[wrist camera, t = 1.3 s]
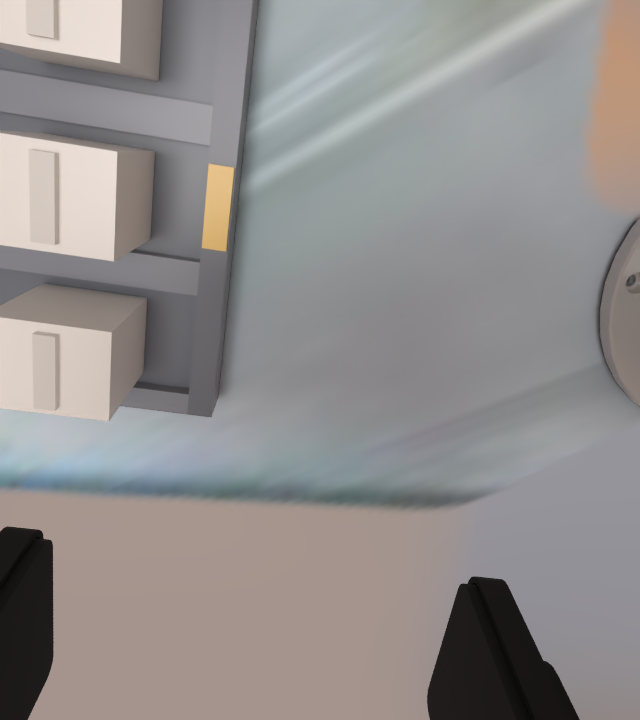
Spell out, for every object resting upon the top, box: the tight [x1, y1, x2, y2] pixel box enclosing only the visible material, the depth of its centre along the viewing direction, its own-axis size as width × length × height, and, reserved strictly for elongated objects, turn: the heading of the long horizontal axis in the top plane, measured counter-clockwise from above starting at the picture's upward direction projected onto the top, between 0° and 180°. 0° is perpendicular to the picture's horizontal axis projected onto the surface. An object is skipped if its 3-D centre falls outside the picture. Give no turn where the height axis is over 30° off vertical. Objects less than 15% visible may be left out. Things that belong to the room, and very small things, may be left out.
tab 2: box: [0, 130, 155, 261], centre depth 19 cm, size 4×3×5 cm
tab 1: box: [0, 0, 163, 82], centre depth 17 cm, size 4×3×5 cm
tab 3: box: [0, 283, 147, 421], centre depth 21 cm, size 4×3×5 cm
